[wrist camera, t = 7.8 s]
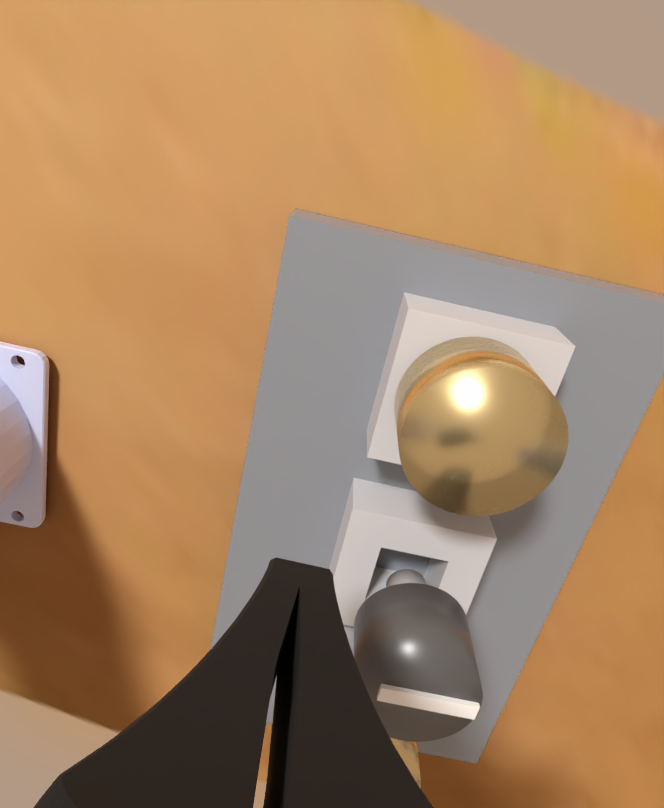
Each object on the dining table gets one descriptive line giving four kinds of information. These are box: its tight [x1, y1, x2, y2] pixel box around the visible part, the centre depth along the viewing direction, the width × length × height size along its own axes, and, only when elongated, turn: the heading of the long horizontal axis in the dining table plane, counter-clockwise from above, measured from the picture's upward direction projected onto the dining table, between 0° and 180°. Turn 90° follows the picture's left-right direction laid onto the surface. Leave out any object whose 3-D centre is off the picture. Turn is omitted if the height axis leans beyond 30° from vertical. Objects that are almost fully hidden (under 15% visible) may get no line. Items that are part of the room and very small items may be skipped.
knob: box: [394, 337, 569, 516], centre depth 18 cm, size 4×4×5 cm
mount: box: [210, 209, 664, 764], centre depth 23 cm, size 13×22×4 cm, turn 168°
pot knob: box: [353, 569, 483, 742], centre depth 19 cm, size 4×4×5 cm
